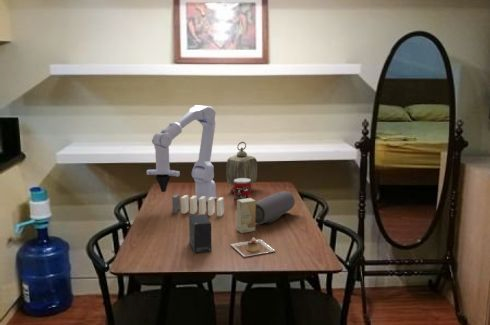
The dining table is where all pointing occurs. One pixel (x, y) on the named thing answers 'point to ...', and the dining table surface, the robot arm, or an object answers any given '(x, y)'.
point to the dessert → (253, 246)
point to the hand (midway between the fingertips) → (163, 191)
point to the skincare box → (246, 215)
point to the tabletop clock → (241, 167)
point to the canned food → (242, 189)
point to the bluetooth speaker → (273, 207)
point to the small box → (200, 233)
